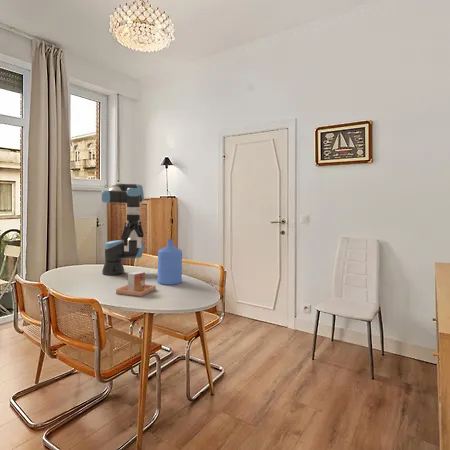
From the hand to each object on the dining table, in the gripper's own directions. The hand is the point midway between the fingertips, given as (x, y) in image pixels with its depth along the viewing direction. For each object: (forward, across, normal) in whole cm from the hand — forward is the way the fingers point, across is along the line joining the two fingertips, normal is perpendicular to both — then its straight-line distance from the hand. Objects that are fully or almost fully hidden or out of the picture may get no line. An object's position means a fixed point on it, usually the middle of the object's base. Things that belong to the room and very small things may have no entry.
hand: (133, 249), depth 197 cm
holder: (+23, -8, -7) cm, 25 cm away
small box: (+22, -8, -7) cm, 25 cm away
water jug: (+24, +20, -15) cm, 34 cm away
